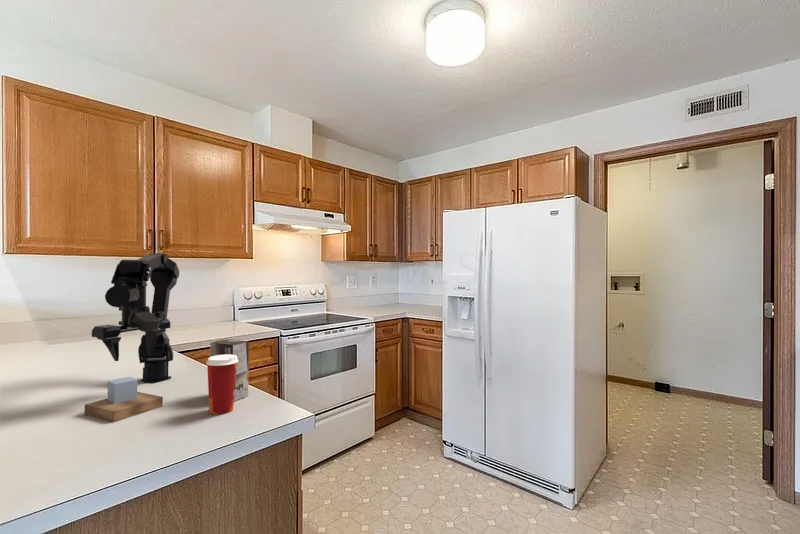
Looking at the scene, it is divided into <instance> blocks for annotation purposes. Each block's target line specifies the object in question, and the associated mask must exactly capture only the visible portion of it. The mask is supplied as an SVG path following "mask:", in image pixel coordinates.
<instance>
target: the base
mask: <svg viewBox="0 0 800 534" xmlns="http://www.w3.org/2000/svg"><path fill="white" fill-rule="evenodd" d="M107 399H108V397H107V398H104V399H100V400H96V401H92V402H89V403H85V404H84V408H83V409H84V412H83V413H84V414H85V416H88V415H89V417H94V418H97V419H101V420H105V421H109V422H113V423H116V422H118V421H122V420H125V419H129V418H131V417H134V416H137V415H141V414H143V413H146V412H149V411H152V410H156V409H159V408H163V399H164V398H163V396H160V395H155V394H150V393H145V392H141V391H140V392H139V391H137V399H134V400H129V401H125V402H120V403H116V404H114V403H112V402H110V401H109V400H107Z"/></svg>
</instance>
